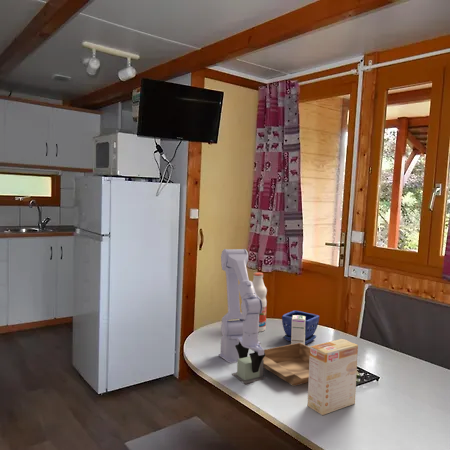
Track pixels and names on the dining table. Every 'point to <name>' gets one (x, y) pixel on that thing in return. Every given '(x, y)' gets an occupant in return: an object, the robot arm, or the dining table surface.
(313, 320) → the flower pot
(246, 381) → the mat
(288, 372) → the wooden tray
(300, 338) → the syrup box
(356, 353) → the coffeecake box
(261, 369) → the capped block
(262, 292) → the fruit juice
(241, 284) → the robot arm
